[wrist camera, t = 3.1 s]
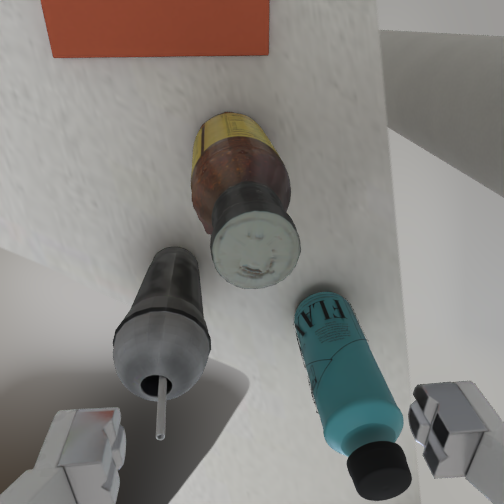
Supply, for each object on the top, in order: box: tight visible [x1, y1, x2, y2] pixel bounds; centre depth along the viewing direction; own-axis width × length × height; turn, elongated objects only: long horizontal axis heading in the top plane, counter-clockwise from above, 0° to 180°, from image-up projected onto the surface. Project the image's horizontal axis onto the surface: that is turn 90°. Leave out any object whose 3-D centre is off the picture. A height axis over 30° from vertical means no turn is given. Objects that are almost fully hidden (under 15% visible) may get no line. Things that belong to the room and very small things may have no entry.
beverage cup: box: [113, 247, 211, 440], centre depth 32 cm, size 7×7×20 cm
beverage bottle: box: [293, 292, 412, 501], centre depth 36 cm, size 6×7×20 cm
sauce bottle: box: [191, 112, 301, 289], centre depth 27 cm, size 6×6×20 cm
